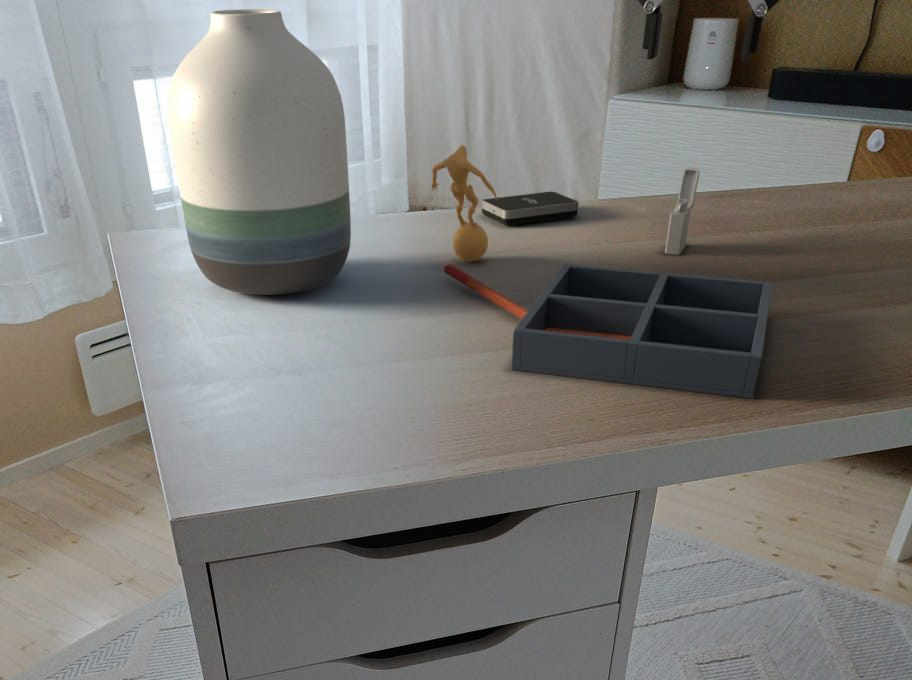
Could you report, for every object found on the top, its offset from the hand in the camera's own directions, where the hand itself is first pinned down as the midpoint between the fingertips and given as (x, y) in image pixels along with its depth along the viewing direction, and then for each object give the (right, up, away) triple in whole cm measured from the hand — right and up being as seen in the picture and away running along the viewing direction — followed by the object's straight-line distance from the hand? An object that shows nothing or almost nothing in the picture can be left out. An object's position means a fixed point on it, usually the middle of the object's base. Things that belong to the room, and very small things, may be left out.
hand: (697, 59), depth 97 cm
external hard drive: (-16, -7, +22) cm, 28 cm away
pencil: (-23, -28, -6) cm, 36 cm away
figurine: (-24, -19, +7) cm, 32 cm away
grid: (-9, -34, -14) cm, 38 cm away
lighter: (+1, -15, +11) cm, 19 cm away
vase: (-45, -23, +1) cm, 51 cm away
